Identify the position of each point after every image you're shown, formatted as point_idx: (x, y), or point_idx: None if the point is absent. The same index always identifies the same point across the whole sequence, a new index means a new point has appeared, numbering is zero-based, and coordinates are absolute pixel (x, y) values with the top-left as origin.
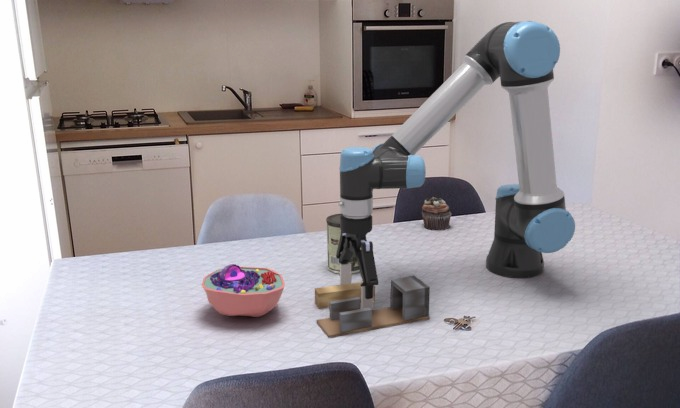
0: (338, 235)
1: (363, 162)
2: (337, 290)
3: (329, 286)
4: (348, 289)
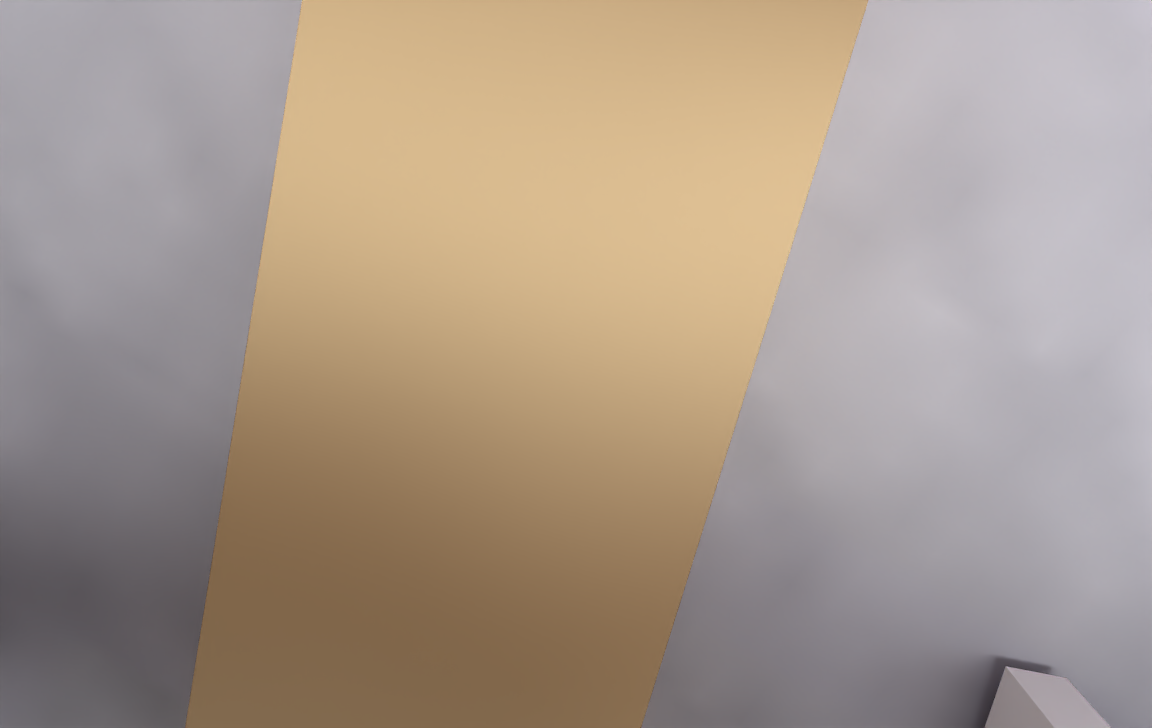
0: None
1: None
2: (329, 276)
3: (786, 226)
4: (236, 599)
